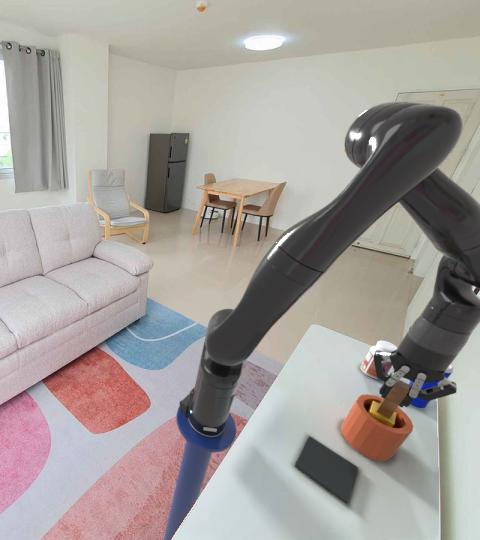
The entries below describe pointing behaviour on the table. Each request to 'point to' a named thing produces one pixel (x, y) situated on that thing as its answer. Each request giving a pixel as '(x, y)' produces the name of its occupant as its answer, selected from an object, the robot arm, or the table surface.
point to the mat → (327, 468)
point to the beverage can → (420, 402)
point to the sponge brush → (389, 404)
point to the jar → (374, 430)
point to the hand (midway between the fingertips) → (392, 400)
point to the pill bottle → (368, 363)
